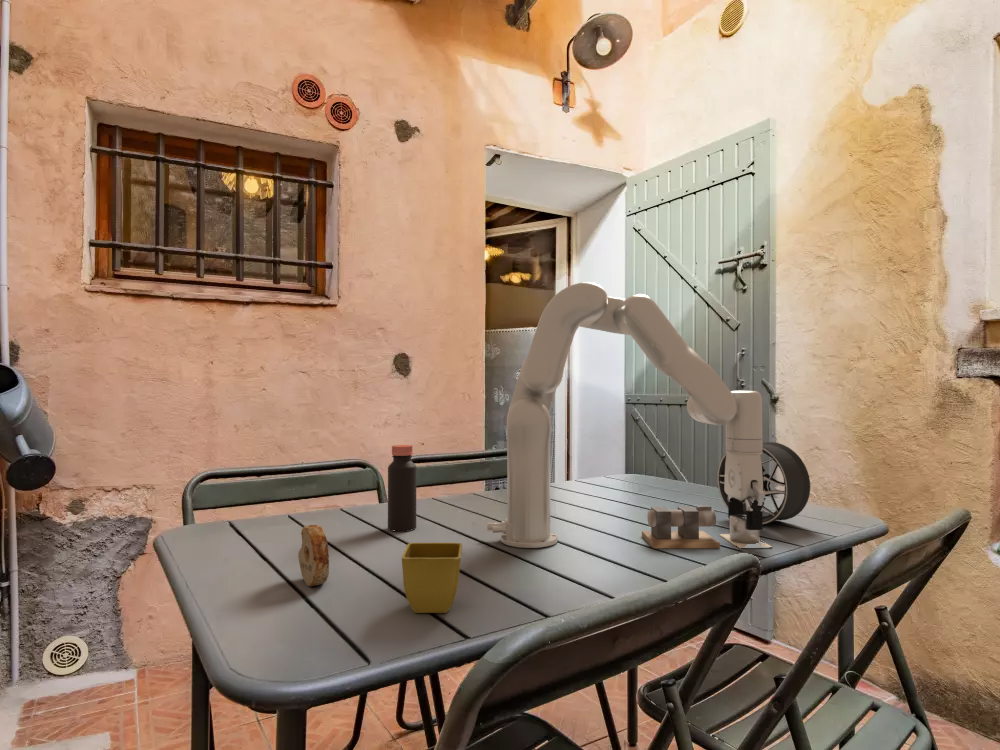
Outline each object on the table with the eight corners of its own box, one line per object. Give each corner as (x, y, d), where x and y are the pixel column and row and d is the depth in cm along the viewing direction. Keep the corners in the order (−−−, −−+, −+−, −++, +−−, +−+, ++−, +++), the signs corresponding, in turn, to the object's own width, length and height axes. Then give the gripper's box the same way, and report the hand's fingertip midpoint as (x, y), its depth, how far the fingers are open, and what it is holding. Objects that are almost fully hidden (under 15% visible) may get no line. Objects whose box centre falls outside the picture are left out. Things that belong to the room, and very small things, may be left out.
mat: (739, 548, 124) (739, 547, 124) (719, 535, 134) (719, 534, 135) (772, 548, 124) (772, 547, 124) (750, 535, 135) (750, 534, 135)
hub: (736, 543, 126) (736, 520, 126) (725, 536, 132) (725, 514, 132) (764, 543, 126) (763, 520, 126) (752, 536, 132) (751, 514, 132)
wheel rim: (717, 516, 154) (716, 440, 155) (740, 512, 159) (739, 438, 159) (788, 532, 137) (787, 446, 138) (811, 527, 142) (810, 444, 142)
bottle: (411, 532, 138) (411, 447, 138) (383, 531, 139) (383, 446, 139) (419, 525, 144) (419, 444, 145) (393, 525, 145) (393, 444, 146)
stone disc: (333, 589, 99) (333, 530, 99) (310, 593, 97) (310, 533, 97) (318, 573, 108) (318, 518, 108) (297, 576, 106) (297, 520, 106)
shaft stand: (653, 548, 124) (653, 511, 124) (641, 536, 134) (641, 502, 134) (721, 548, 124) (721, 511, 124) (705, 536, 134) (704, 501, 134)
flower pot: (462, 597, 95) (462, 541, 95) (460, 618, 86) (460, 557, 87) (408, 598, 95) (408, 542, 95) (400, 619, 86) (400, 558, 86)
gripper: (712, 442, 138) (713, 515, 138) (743, 450, 121) (744, 534, 120) (744, 442, 138) (745, 515, 138) (779, 450, 121) (780, 534, 120)
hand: (744, 524), depth 129 cm, fingers open, 9 cm apart
